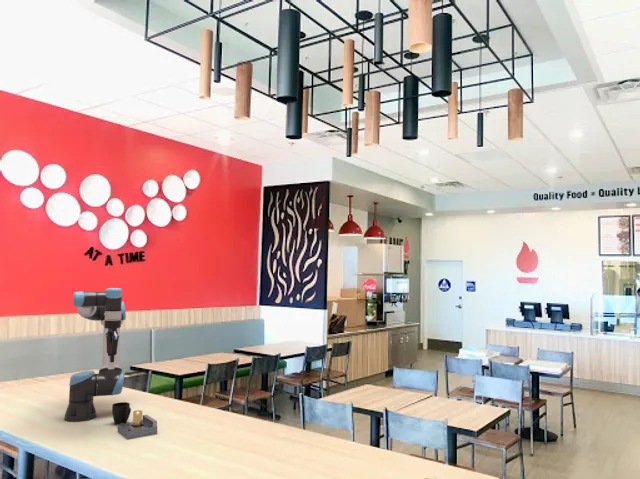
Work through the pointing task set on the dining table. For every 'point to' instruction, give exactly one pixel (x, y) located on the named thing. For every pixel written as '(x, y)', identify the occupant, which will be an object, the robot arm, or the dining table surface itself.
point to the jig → (138, 428)
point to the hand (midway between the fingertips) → (111, 368)
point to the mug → (121, 412)
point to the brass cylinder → (137, 418)
